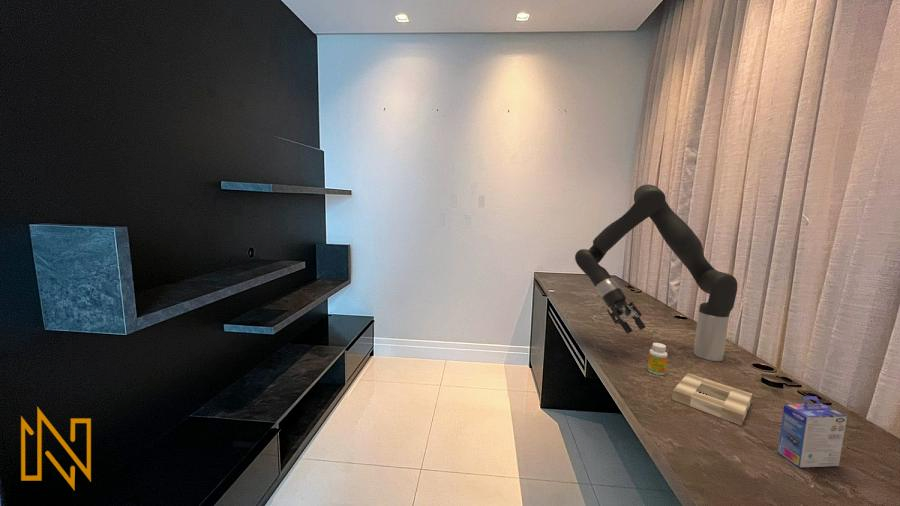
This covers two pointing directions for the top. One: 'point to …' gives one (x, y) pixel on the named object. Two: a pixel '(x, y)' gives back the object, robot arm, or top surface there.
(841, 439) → the ink cartridge box
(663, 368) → the supplement bottle
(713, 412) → the light wooden square frame
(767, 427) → the top surface
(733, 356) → the top surface
